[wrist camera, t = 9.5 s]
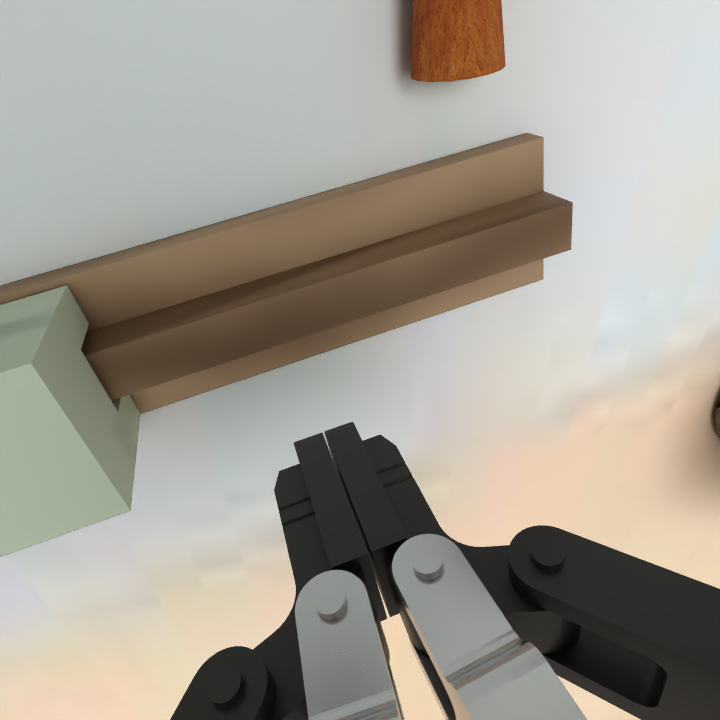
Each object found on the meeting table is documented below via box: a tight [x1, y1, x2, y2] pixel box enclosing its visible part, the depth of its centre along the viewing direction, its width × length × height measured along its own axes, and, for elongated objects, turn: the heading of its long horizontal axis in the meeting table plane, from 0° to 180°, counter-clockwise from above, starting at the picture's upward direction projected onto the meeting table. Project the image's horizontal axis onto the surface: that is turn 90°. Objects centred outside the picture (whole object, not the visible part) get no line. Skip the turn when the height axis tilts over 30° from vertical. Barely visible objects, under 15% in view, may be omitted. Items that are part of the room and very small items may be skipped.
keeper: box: [0, 285, 140, 557], centre depth 17 cm, size 6×5×6 cm
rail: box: [0, 133, 573, 414], centre depth 20 cm, size 6×26×5 cm, turn 102°
